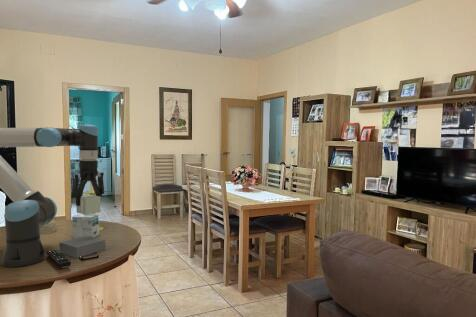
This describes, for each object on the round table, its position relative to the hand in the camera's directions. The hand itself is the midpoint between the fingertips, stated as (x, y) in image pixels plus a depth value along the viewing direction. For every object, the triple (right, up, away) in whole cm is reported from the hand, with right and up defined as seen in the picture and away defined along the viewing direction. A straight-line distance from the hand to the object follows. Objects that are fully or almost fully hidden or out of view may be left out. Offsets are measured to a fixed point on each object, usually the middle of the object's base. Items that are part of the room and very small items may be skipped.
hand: (88, 211), depth 155 cm
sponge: (-34, -15, +29) cm, 47 cm away
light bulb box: (-9, -16, +20) cm, 27 cm away
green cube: (0, 0, 0) cm, 0 cm away
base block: (-1, -17, -3) cm, 17 cm away
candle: (-11, -15, +32) cm, 37 cm away
